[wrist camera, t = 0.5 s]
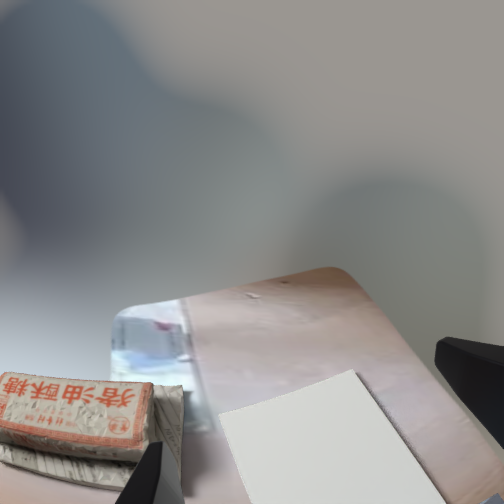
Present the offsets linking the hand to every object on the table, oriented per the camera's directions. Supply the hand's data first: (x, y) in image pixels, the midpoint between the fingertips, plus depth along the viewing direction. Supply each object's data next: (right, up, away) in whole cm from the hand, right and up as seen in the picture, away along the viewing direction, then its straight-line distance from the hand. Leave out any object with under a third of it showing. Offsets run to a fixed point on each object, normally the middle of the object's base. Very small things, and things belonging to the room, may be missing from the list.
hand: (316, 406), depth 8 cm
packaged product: (-16, -11, +13) cm, 24 cm away
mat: (+4, -11, +10) cm, 16 cm away
